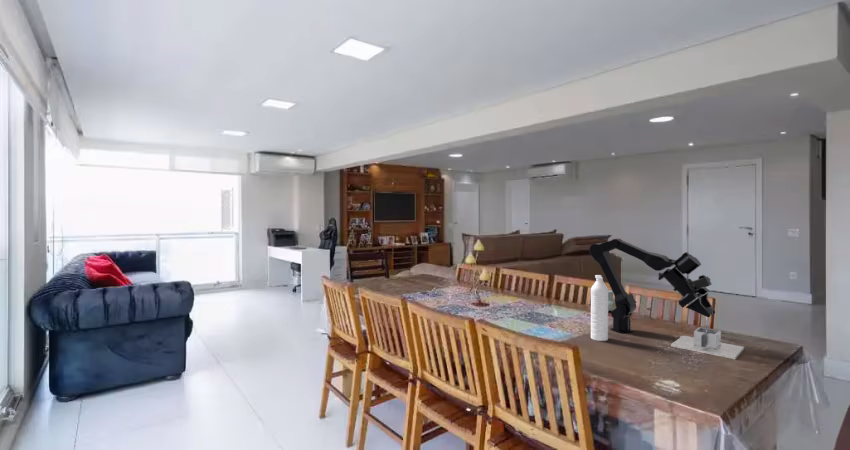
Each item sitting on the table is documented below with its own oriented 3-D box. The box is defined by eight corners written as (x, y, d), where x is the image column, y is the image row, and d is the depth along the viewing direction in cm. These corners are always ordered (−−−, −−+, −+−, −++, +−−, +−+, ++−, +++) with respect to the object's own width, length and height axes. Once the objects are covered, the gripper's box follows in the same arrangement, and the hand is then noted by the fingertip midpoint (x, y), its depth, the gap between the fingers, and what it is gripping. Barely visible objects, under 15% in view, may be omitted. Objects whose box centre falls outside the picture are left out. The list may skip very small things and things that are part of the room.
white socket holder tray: (671, 346, 162) (671, 329, 162) (683, 337, 172) (683, 322, 172) (735, 359, 148) (735, 341, 147) (744, 348, 158) (744, 332, 158)
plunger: (697, 335, 160) (697, 307, 159) (701, 332, 164) (701, 305, 163) (714, 338, 156) (714, 309, 155) (717, 335, 160) (718, 307, 159)
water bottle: (609, 341, 168) (609, 278, 167) (591, 340, 170) (591, 278, 169) (606, 335, 176) (606, 275, 175) (589, 334, 178) (589, 274, 177)
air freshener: (604, 307, 225) (604, 288, 224) (619, 309, 219) (619, 290, 218) (593, 310, 218) (593, 291, 217) (609, 313, 212) (609, 293, 211)
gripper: (688, 271, 155) (724, 306, 148) (703, 266, 168) (736, 298, 160) (664, 290, 161) (698, 324, 154) (680, 283, 174) (711, 315, 166)
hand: (712, 315), depth 158 cm, fingers open, 6 cm apart
